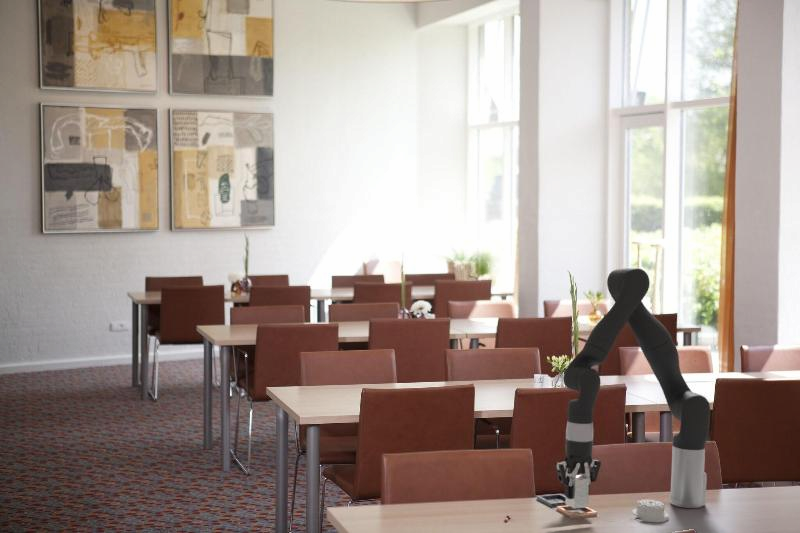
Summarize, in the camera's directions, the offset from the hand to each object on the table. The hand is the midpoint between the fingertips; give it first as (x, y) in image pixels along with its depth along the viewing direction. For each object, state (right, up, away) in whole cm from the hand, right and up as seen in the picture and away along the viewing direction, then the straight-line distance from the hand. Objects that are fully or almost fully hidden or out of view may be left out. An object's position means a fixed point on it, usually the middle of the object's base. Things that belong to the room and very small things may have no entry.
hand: (576, 497), depth 286 cm
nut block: (0, -2, 0) cm, 2 cm away
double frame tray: (-2, -5, +5) cm, 7 cm away
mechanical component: (+21, -6, +1) cm, 22 cm away
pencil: (-18, -5, +2) cm, 19 cm away
